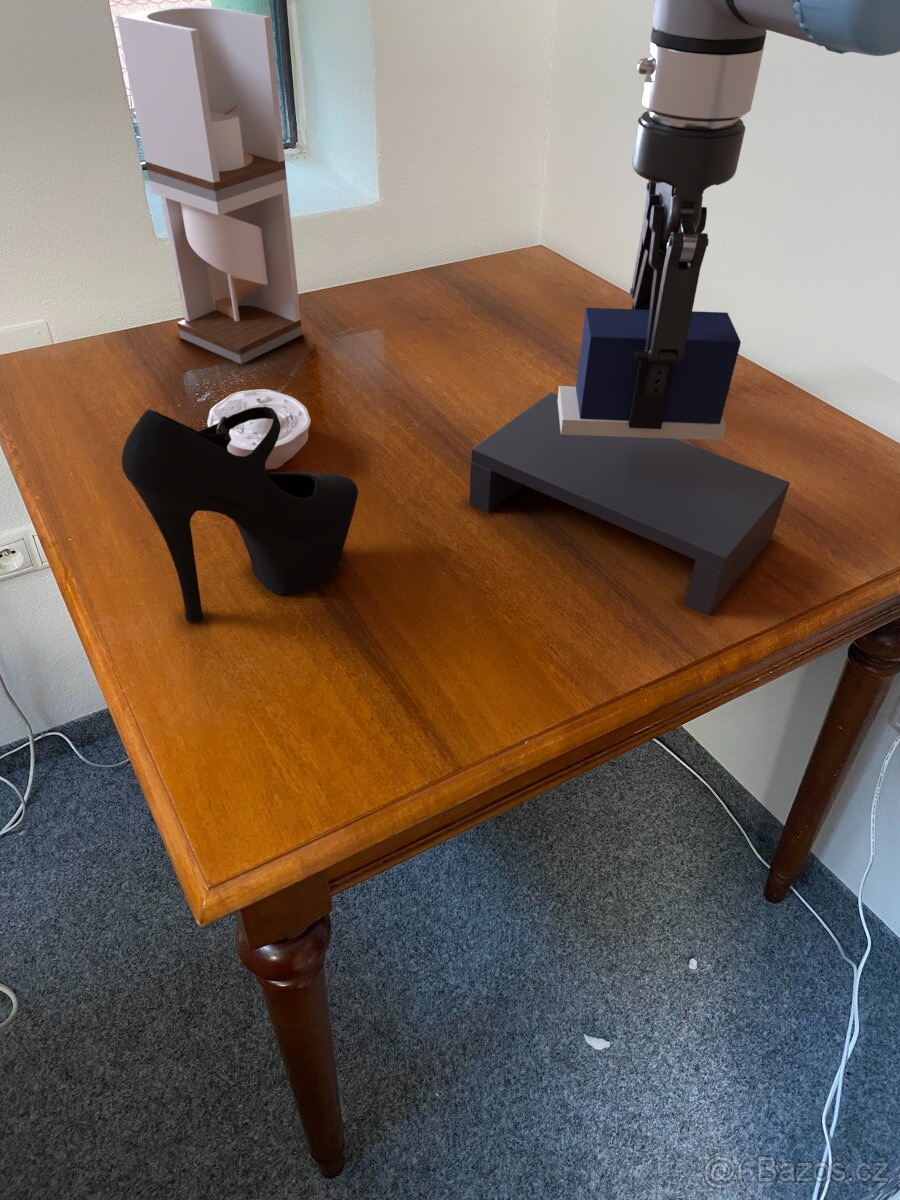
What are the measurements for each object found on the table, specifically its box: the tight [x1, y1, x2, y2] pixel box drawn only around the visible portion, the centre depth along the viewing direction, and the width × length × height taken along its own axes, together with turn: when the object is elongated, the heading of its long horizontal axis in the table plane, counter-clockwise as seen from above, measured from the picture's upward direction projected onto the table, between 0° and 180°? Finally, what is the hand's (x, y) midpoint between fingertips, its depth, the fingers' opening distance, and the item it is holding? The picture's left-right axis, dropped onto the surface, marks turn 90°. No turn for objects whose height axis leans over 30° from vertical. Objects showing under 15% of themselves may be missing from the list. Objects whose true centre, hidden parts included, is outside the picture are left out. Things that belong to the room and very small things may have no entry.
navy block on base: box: [557, 307, 742, 441], centre depth 75 cm, size 14×6×9 cm, turn 88°
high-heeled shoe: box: [121, 407, 359, 623], centre depth 71 cm, size 8×19×20 cm, turn 130°
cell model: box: [206, 388, 311, 470], centre depth 91 cm, size 10×12×7 cm
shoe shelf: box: [468, 392, 791, 616], centre depth 84 cm, size 26×14×6 cm, turn 53°
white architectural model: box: [116, 3, 303, 365], centre depth 102 cm, size 11×11×35 cm
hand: (640, 405), depth 77 cm, fingers closed on navy block on base, 6 cm apart
